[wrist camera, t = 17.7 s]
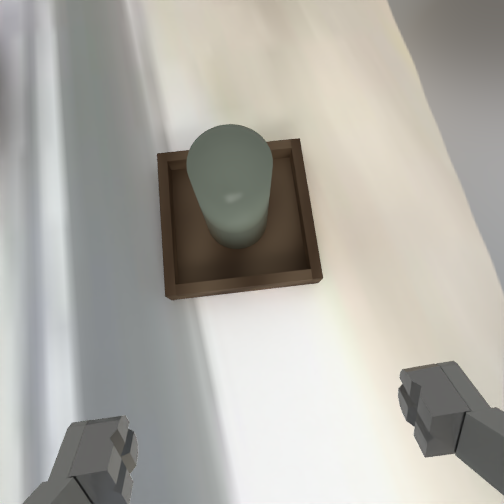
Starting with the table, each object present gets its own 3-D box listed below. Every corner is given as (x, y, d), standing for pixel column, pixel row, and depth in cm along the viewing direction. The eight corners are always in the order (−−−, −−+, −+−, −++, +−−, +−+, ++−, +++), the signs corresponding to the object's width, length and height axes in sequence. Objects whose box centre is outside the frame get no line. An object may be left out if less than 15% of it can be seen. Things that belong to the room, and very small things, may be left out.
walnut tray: (171, 300, 30) (165, 296, 28) (163, 166, 33) (156, 153, 31) (318, 283, 31) (323, 277, 28) (296, 151, 34) (299, 138, 31)
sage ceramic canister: (210, 252, 31) (189, 207, 21) (204, 195, 32) (183, 129, 22) (270, 245, 31) (278, 197, 21) (263, 189, 32) (267, 120, 22)
